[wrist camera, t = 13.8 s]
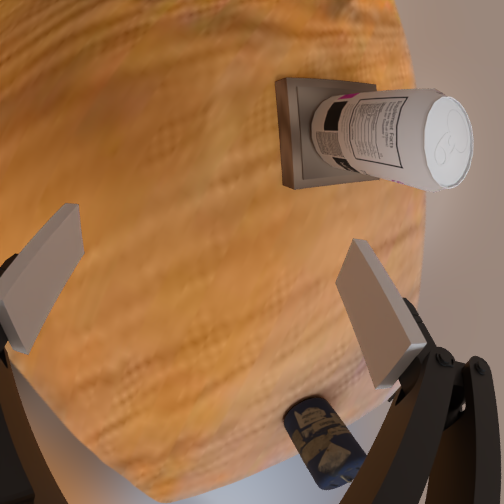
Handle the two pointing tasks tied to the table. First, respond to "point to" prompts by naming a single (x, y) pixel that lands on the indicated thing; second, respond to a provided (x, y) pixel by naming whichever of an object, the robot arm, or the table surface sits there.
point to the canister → (324, 443)
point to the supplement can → (396, 136)
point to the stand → (309, 131)
